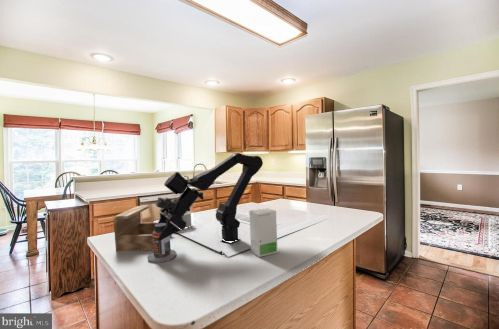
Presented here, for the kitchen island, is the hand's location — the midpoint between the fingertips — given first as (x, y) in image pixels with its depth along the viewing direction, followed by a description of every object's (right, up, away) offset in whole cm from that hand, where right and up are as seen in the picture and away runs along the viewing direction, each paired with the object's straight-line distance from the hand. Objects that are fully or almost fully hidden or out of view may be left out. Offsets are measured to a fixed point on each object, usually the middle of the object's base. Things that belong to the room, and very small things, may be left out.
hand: (156, 236), depth 92 cm
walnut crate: (-11, -8, +18) cm, 22 cm away
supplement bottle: (+2, -7, +1) cm, 8 cm away
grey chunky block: (-3, -6, +37) cm, 38 cm away
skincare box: (+39, -6, +1) cm, 40 cm away
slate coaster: (+2, -8, +1) cm, 8 cm away
